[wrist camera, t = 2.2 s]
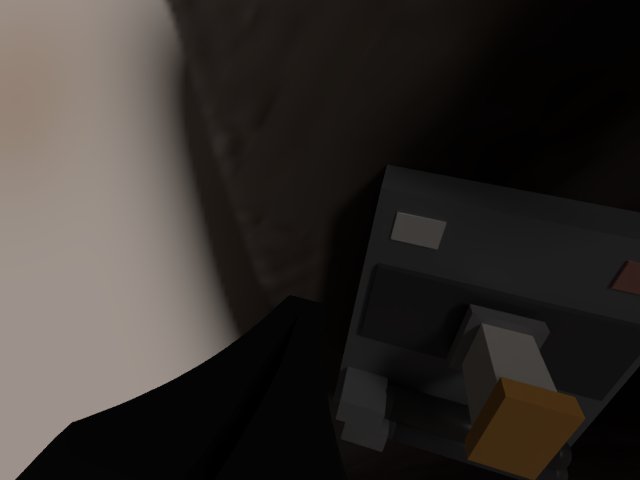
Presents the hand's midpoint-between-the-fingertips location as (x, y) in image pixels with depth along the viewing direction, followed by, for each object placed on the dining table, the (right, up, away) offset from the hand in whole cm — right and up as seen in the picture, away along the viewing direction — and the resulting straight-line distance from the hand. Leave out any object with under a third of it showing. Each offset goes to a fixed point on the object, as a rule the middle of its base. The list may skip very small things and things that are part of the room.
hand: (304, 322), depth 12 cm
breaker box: (+7, 0, +4) cm, 8 cm away
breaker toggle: (+7, -1, 0) cm, 7 cm away
